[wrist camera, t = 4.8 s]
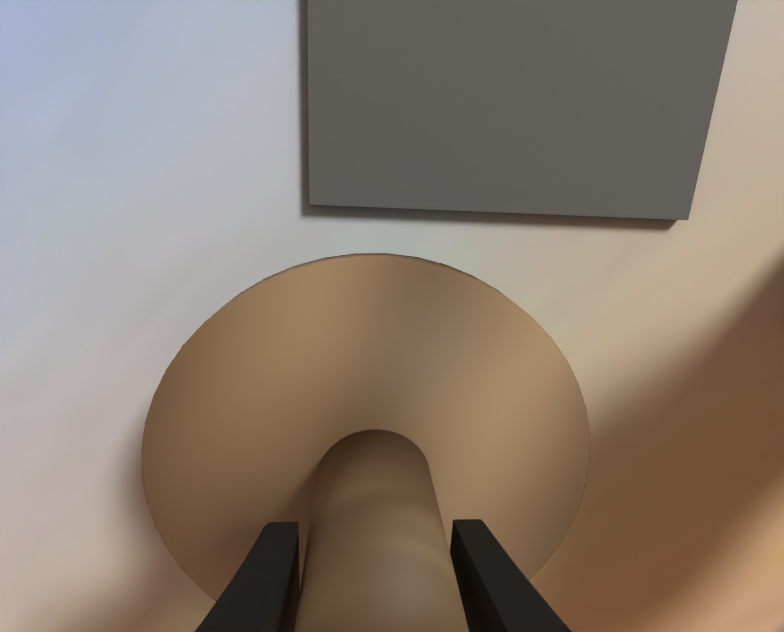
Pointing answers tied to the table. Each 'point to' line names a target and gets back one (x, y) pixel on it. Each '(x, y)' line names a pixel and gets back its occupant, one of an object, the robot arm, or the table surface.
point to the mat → (513, 104)
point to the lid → (366, 437)
